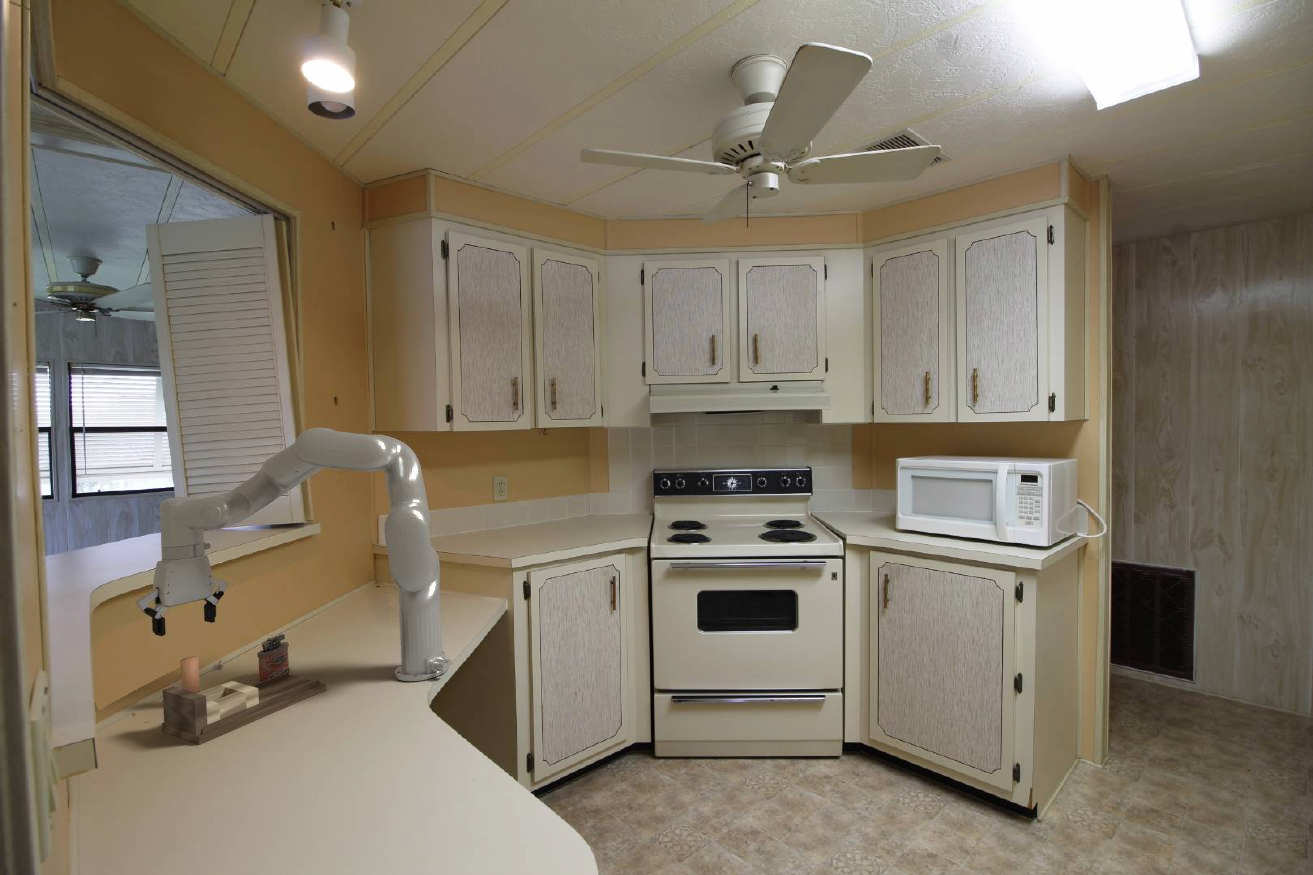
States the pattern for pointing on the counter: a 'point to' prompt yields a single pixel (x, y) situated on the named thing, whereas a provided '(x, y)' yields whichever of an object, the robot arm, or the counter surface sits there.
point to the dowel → (190, 674)
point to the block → (229, 700)
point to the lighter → (273, 658)
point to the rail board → (190, 713)
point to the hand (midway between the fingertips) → (185, 628)
